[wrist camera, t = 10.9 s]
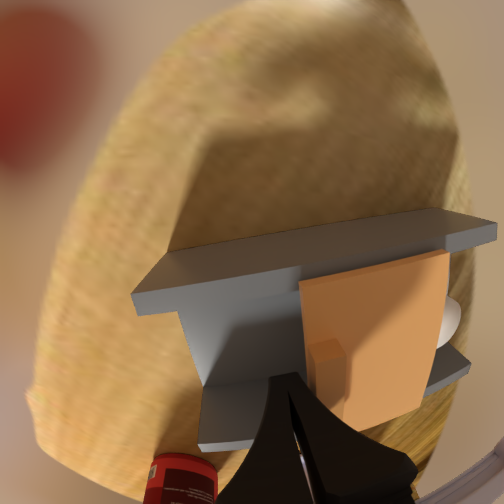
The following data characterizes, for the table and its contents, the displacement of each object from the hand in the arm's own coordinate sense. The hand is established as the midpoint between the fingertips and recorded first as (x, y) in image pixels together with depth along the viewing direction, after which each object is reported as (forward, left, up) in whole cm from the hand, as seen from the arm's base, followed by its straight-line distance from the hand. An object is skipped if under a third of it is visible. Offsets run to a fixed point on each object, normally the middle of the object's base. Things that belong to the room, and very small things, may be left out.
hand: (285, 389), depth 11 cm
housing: (0, -4, -7) cm, 8 cm away
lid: (0, -5, 0) cm, 5 cm away
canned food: (-19, +12, -7) cm, 24 cm away
